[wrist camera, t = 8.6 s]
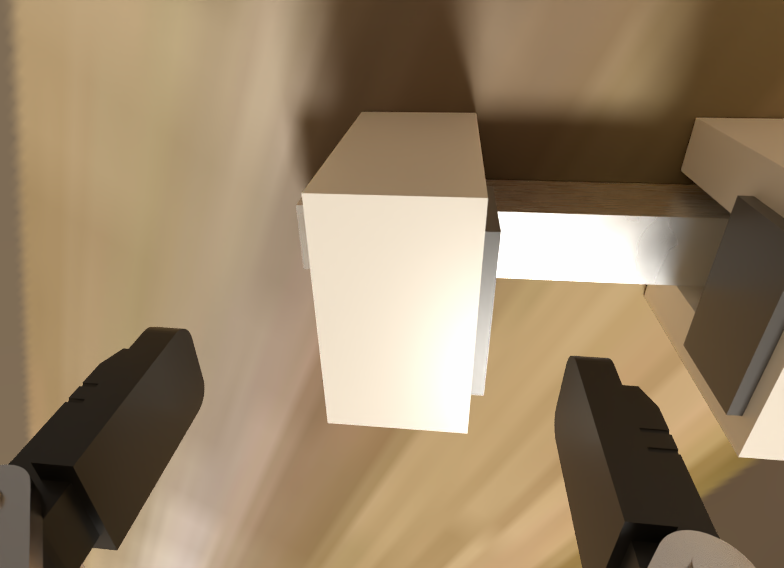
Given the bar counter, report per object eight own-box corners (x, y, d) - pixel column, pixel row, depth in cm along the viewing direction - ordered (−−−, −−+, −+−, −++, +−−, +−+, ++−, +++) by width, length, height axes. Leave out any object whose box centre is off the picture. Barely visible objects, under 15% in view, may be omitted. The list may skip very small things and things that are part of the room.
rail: (317, 175, 19) (295, 205, 17) (798, 187, 17) (857, 222, 15) (323, 232, 20) (303, 268, 18) (772, 249, 19) (822, 292, 16)
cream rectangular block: (361, 111, 18) (301, 193, 11) (487, 112, 17) (507, 198, 10) (369, 282, 21) (327, 423, 14) (473, 286, 21) (481, 434, 14)
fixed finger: (683, 117, 17) (840, 212, 10) (827, 119, 16) (1096, 219, 9) (633, 295, 20) (722, 455, 13) (750, 301, 20) (903, 469, 13)
